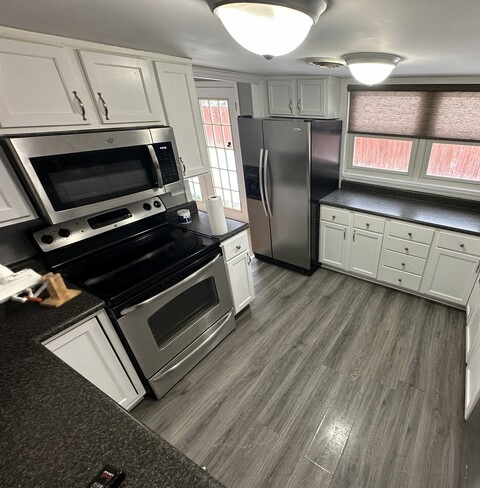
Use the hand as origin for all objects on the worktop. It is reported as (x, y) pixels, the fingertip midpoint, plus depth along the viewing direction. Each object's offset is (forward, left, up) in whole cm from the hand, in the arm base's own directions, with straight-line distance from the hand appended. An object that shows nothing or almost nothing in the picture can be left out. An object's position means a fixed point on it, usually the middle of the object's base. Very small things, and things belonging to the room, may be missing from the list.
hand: (29, 299), depth 120 cm
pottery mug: (-3, +22, -7) cm, 23 cm away
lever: (+5, +3, +2) cm, 6 cm away
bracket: (+8, +6, -7) cm, 12 cm away
